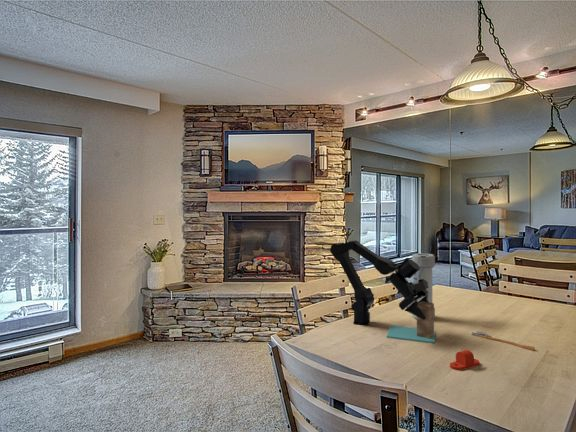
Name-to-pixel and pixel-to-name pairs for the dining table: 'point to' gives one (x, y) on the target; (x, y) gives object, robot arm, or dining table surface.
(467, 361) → the bracket
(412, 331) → the mat
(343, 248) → the robot arm
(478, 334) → the axe
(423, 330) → the walnut block
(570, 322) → the dining table surface
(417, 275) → the canister
